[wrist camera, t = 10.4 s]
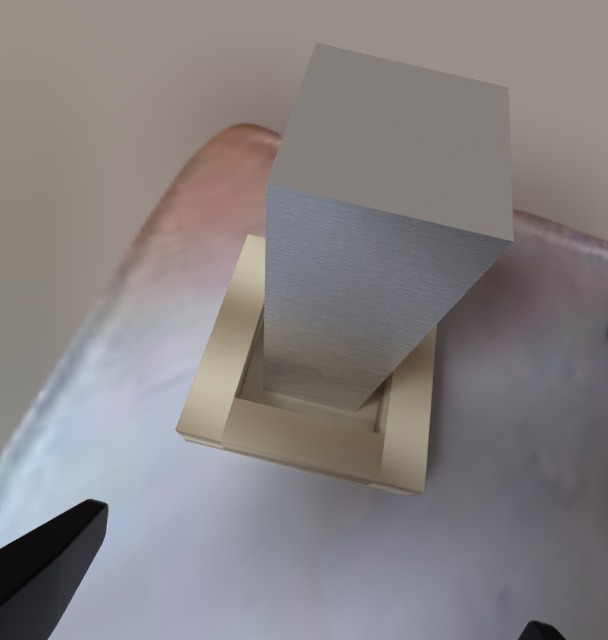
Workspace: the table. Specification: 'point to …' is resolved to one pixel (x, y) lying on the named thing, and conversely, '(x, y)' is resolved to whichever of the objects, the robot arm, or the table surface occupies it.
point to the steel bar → (377, 219)
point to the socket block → (305, 402)
